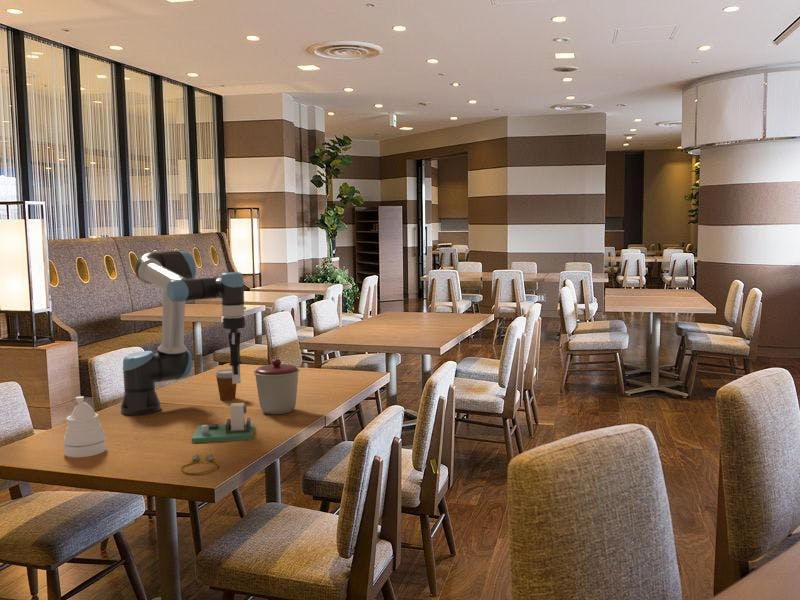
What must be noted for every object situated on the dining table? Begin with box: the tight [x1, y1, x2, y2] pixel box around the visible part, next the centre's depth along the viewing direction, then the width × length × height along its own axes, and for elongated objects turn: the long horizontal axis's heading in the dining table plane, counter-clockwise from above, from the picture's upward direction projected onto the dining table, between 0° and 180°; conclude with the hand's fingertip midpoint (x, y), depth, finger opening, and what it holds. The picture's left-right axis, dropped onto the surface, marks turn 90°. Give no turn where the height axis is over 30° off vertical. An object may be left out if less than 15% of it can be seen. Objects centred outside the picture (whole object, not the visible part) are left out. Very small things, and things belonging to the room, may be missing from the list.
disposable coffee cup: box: [214, 368, 237, 402], centre depth 314 cm, size 10×10×12 cm
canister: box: [253, 358, 301, 415], centre depth 291 cm, size 18×18×21 cm
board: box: [191, 417, 255, 443], centre depth 261 cm, size 20×16×4 cm
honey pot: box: [63, 395, 107, 458], centre depth 244 cm, size 13×13×18 cm
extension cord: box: [180, 453, 219, 476], centre depth 228 cm, size 12×16×2 cm
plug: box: [229, 402, 247, 431], centre depth 261 cm, size 5×4×9 cm
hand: (236, 382), depth 260 cm, fingers closed
